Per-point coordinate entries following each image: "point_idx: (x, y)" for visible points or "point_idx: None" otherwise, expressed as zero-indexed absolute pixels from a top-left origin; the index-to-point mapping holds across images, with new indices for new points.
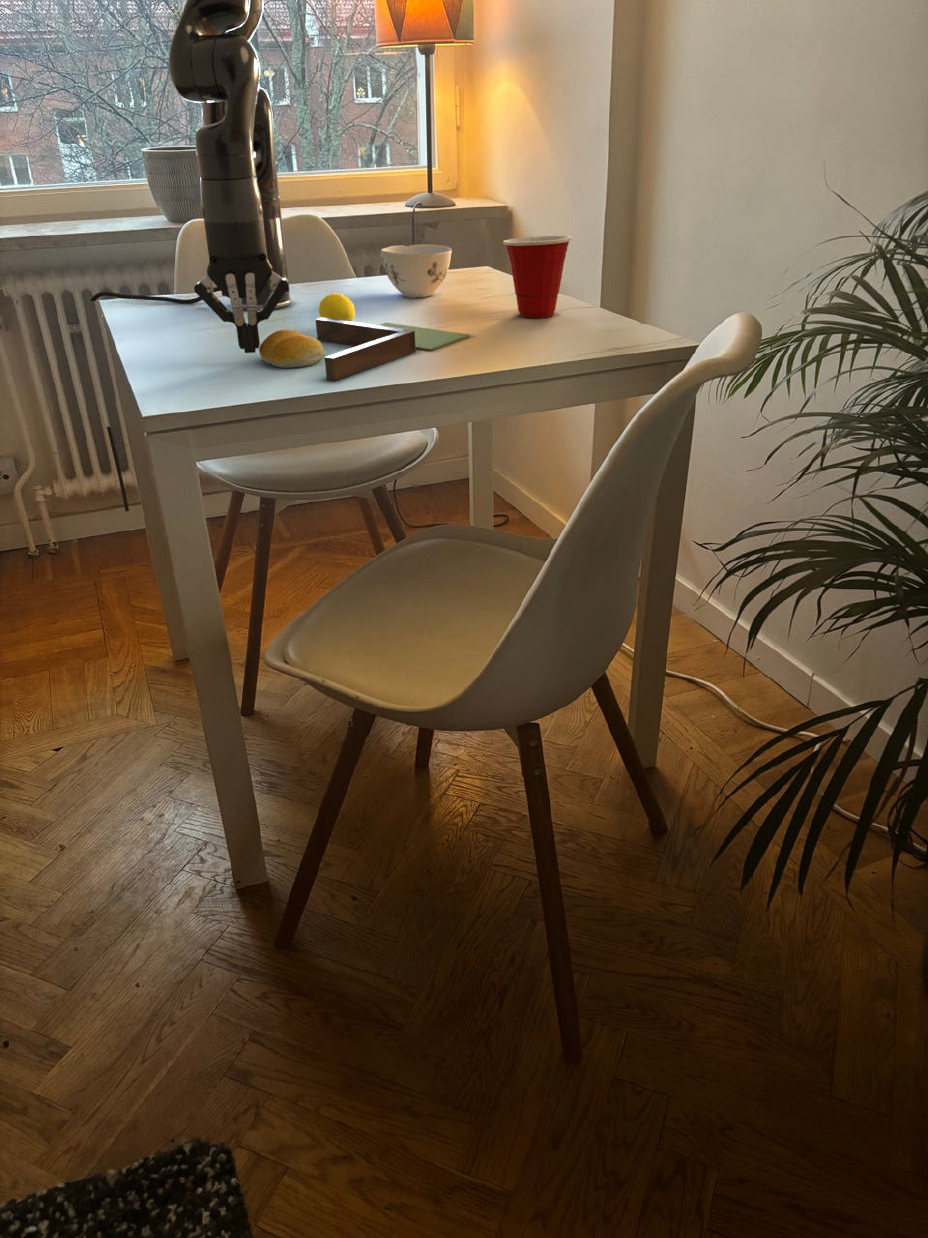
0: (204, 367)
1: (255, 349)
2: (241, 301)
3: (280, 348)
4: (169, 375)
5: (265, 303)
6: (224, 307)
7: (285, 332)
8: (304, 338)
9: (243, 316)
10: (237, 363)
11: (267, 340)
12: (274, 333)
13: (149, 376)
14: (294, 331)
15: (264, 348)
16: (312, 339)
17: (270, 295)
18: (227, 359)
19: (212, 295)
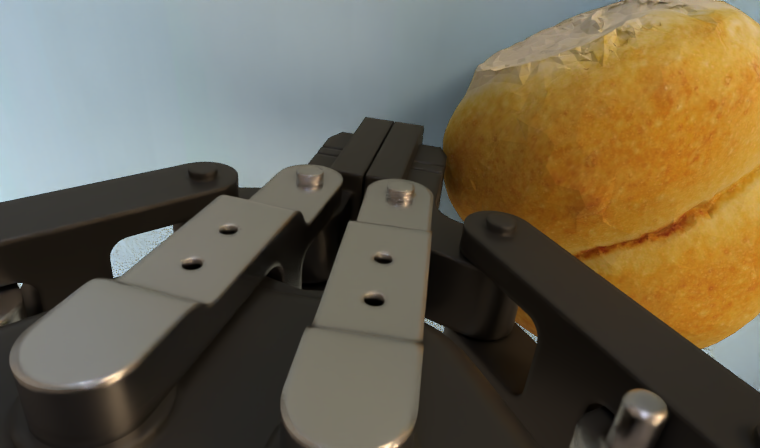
0: (190, 117)
1: (423, 129)
2: (298, 213)
3: (529, 325)
4: (73, 183)
5: (505, 289)
6: (175, 219)
7: (614, 215)
8: (688, 335)
9: (330, 242)
10: (335, 107)
11: (486, 208)
12: (540, 202)
13: (2, 166)
14: (695, 169)
15: (462, 216)
16: (744, 313)
17: (557, 363)
18: (286, 3)
19: (41, 301)
